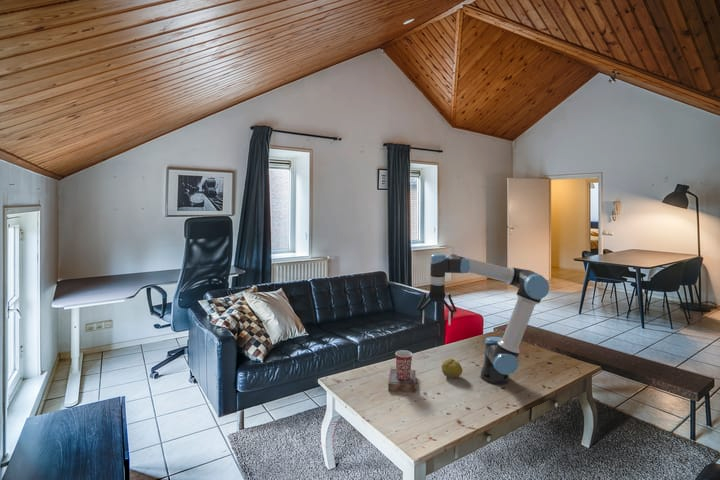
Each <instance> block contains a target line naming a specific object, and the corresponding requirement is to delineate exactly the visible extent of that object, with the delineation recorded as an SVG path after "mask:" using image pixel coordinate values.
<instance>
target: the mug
mask: <svg viewBox="0 0 720 480" xmlns="http://www.w3.org/2000/svg"><path fill="white" fill-rule="evenodd" d="M394 355H395V369H396V377H397V379H399V380H403V381H405V380H409V379H410V372H411V370H412V369H411V368H412V360H413V352H411V351H409V350H404V349H400V350H397V351H395V354H394Z"/></svg>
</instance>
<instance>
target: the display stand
mask: <svg viewBox="0 0 720 480" xmlns="http://www.w3.org/2000/svg"><path fill="white" fill-rule="evenodd" d="M387 385H388V386H387V387H388V388H387V389H388V391H387V392H399V393H400V392H401V393H410V394H411V393H414V394H416V369H411V372H410V379H409V380H405V381H403V380H399V379H397V377H396V368H390V369H389V378H388V383H387Z"/></svg>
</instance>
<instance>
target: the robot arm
mask: <svg viewBox="0 0 720 480" xmlns="http://www.w3.org/2000/svg"><path fill="white" fill-rule="evenodd" d="M429 269H430V275H429V277H430V278H429V279H430V280H429V283H430V284H429V292H426V291H423V296H422V298H420V299H421V300H420V301H419V303H418V305H417V307H416V309H417V311H419V312H420V313H419V316H420V318H421V319H422V320H421V321H422V324H423V325H424V324H425V309H426V308H427V307H428V306H429V305H430V303H432V302H434V303H436V302H437V303H440V302H441V303H442V304H444V306H445V307H446V309H447V310H448V326H451V319H453V318H454V313H456V312H457V311H458V310H457V308H456V306H455V305H456V304H454V301H453V299H452V294H451V293H450V292H448V293H445V292H446V291H445V290H446V286H445V283H446V274H468V273H470V274H473V275H477V276H481V277H485V278H489V279H493V280H497V281H501V282H505V283H506V284H507V285H510V286H513V287H515V288H517V291H516V296H517V301H516V303H515V305H514V308H513V310H512V313H511V316H510V318H509V320H508V323H507V325H506V328H505V331H504V333H503V336H502V337H500V336H499V337H498V336H487V337H486V338H485V341H484V362H483V365H482V368H481V370H480V375H479V376H480V378H481V379H482V380H483V381H485V382H487V383H490V384H494V385H504V384H507V383H509V381H510V375H511V374H513V373H515V372H516V371H517V370H518V368H519V360H518V357H519V355H520V353H521V352H520V351H521V350H520V349H519V346H520V343H521V341H522V339H523V336H524V334H525V332H526V329H527V327H528V324H529V322H530V320H531V319H530V318H531V317H532V314H533V312H534V309H535V308H536V305H539V304H540V303H541V301H542V299H544V298H545V297H546V296H548V294H549V291H550V283H549V282H548V280H547V278H545V277H544V276H543V275H541V274H539V273H537V272H535V271H532V270H530V269H525V268H523V269H522V268H520V267H513V266H510V267H505V266H501V265H497V264H493V263H489V262H485V261H481V260H476V259H473V258H469V257H464V256H459V255H457V254H454V253H450V254H448V255H447V256H446V254H444V253H433V254H432V255H431V256H430V268H429ZM428 296H429V298H428V300H427V301H426V302H425V300H426V298H427V297H428ZM445 297H446V298H447V299H448V300H449V301H448V302H450V304H451V306H450V305H449V303H448V302H447V301H446V299H445ZM424 302H425V303H424Z"/></svg>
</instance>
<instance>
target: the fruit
mask: <svg viewBox="0 0 720 480" xmlns="http://www.w3.org/2000/svg"><path fill="white" fill-rule="evenodd" d="M441 372H442V373H443V375H444V376H445V377H447V378H451V379H452V378H458V377H460V376H461V375H462V374H463V368H462V365H461V364H460V362H459V361H456V359H453V358H448V359H446V360H444V361H443V362H442V364H441Z"/></svg>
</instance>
